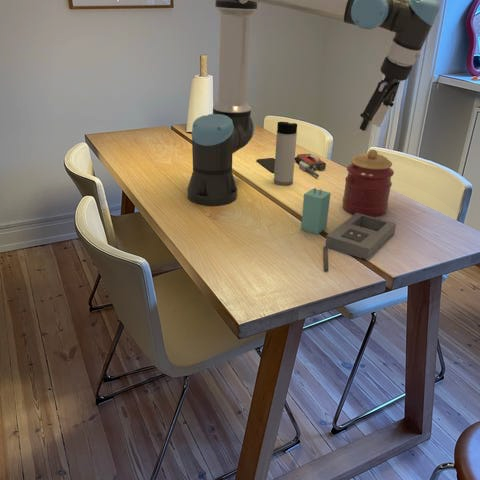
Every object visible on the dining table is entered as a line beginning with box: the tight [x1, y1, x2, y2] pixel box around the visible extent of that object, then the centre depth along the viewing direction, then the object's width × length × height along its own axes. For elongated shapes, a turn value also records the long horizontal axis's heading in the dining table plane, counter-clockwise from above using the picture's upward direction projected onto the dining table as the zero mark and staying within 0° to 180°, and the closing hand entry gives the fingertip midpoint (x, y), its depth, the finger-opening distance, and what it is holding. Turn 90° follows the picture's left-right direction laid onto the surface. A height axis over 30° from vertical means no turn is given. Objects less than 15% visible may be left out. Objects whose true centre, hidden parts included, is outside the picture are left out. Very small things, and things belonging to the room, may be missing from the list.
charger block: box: [300, 187, 331, 235], centre depth 128 cm, size 5×5×11 cm
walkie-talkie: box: [295, 153, 327, 178], centre depth 174 cm, size 9×4×20 cm
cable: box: [322, 245, 329, 272], centre depth 115 cm, size 11×1×1 cm, turn 172°
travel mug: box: [273, 121, 298, 186], centre depth 157 cm, size 6×7×20 cm
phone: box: [255, 157, 275, 174], centre depth 176 cm, size 7×1×15 cm
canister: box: [342, 149, 395, 217], centre depth 140 cm, size 13×13×18 cm
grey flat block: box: [324, 213, 397, 260], centre depth 124 cm, size 18×11×3 cm, turn 144°
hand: (367, 131), depth 141 cm, fingers open, 13 cm apart
